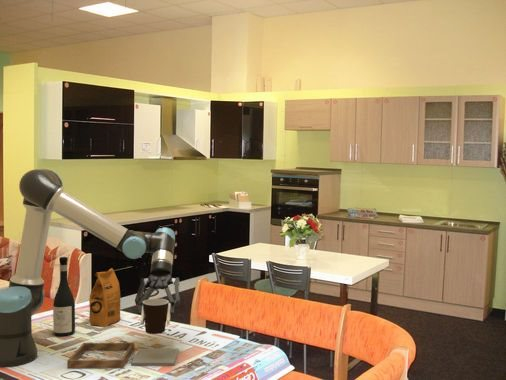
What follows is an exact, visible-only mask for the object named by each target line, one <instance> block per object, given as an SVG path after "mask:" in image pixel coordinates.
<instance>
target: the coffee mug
mask: <svg viewBox="0 0 506 380" xmlns="http://www.w3.org/2000/svg"><path fill="white" fill-rule="evenodd" d="M168 303H170V301H169V299H168V300H167V299H166V298H149V299H148V300H144V301H143V310H144V329H145V333H146V334H148V335H149V334H150V335H160V334H163V333H165V332H166V326H167V325H166V324H167V311H168Z"/></svg>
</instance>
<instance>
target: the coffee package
mask: <svg viewBox="0 0 506 380" xmlns="http://www.w3.org/2000/svg"><path fill="white" fill-rule="evenodd" d="M94 275H95V277H96V278H97V279H96V281H95V283H94V286H93V288H92V290H91V291H90V294H89V301H88V302H89V315H88V316H89V319H88V322H89V325H91V326H95V325H96V326H95V327H102V328H103V327H104V328H105V327H107V326H109V325H111V324H113V325H114V324H115V323H116V324H117V323H118V322H119V321H121V289H120V282H119V280H118V278H117V275H116V273H115V270H114V269H113V268H112V267H111V268H110V269H109V270H107V271H100V272H97V271H96V273H94Z"/></svg>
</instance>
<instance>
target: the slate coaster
mask: <svg viewBox="0 0 506 380" xmlns="http://www.w3.org/2000/svg"><path fill="white" fill-rule="evenodd" d="M179 351H180V348H179V347H177V348H175V347H173V348H170V347H169V348H162V347H161V348H159V347H158V348H155V347H154V348H152V347H151V348H138V350H137V351H136V354H135V355H134V356H133V359H132V360H131V363H130V366H131V367H136V366H137V367H139V366H140V367H142V366H143V367H144V366H145V367H147V366H148V367H150V366H151V367H154V366H159V367H161V366H165V367H167V366H175V365H176V361H177V358H178V355H179Z"/></svg>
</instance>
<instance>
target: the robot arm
mask: <svg viewBox="0 0 506 380" xmlns="http://www.w3.org/2000/svg"><path fill="white" fill-rule="evenodd" d="M63 186H64V185H63V180H62V178H61V177H60V176H59V174H57V172H55V171H53V170H50V169H47V168H41V169H31V170H28V171H26V173H24V174H23V175H22V177H21V178H20V180H19V187H18V188H19V192H20V195H21V196H22V197H23V201H22V205H23V207H24V208H25V215H24V216H25V217H24V220H23V222H24V223H23V228H22V233H21V234H22V235H21V239H20V245H19V251H18V258H17V263H16V269H15V270H16V271H15V274H14V275H13V276H12V277H10V279H9V282H8V287H5V288H2V289H0V367H15V366H20V365H24V364H28V363H30V362H33V361H35V360H36V359H37V358H38V347H37V344H36V342H35V339H34V337H33V333H32V332H33V331H32V329H33V328H32V322H33V321H32V317H33V315H35V314H36V313H37V312H38V311H39V310H40V309H41V307H42V306H43V303H44V299H45V292H44V286H45V281H44V279H43V278H42V271H43V267H44V266H43V265H44V260H45V252H46V247H47V241H48V235H49V229H50V223H51V219H52V213H53V212H54V213H55V214H57V215H59V216H61V217H63V218H64V219H66V220H68V221H70V222H71V223H73V224H74V225H76V226H78V227H79V228H81V229H83V230H85V231H86V232H88V233H90V234H92V235H93V236H95V237H97V238H99V239H100V240H102V241H104V242H105V243H107V244H109V245H110V246H112V247H114V248H116V249H117V250H118V251H119V252H122V253H123V254H124V255H125V257H127V258H129V259H131V260H136V259H139V258H140V257H142V256H143V255H144V254H145V253H146V254H147V253H148V254H152V257H151V265H150V274H149V276H148V278H147V277H146V278H144V277H140V280H139V281H140V284H139V287H138V290H137V293H136V296H135V299H134V303H135V305H136V306H139V308H138V314H139V315H140V323H141V325H142V326H143V325H144V326H145V320H144V310H143V301H144V300H148V299H151V296H152V294H154V292H155V291H156V290H164V291H165V293H166V295H167V298H168V301H169V303H168V311H167V318H166V324H167V325H170V323H171V315H174V314H175V307H176V306H180V305H181V299H180V291H179V290H180V288H179V286H180V283H181V281H180V278H179V277H175V278H174V277H172V273H173V263H174V253H175V252H174V251H175V243H176V233H175V231H174V230H173V229H172V228H169V227H162V228H161V227H159V228H158V229H156V231H155V232H145V231H135V230H130V229H128V228H126V227H124V226H123V225H121V224H119V223H118V222H116V221H114V220H113V219H111V218H109V217H108V216H105V215H104V214H103V213H101V212H100V211H97V210H96V209H94V207H91V206H89V205H88V204H86V203H84V202H83V201H81V200H80V199H78V198H76V197H74V196H72V195H71V194H69V193H67V192H66V191H65V189H64V187H63ZM148 283H149V286H148V288H147V290H146V291H145V287H146V286H147V284H148ZM171 283H172V285H174V292H175V293H174V294H175V299H174V298H173V295H172V293H171V290H170V287H169V285H171ZM144 292H145V293H144ZM143 294H144V295H143ZM167 325H166V326H167Z"/></svg>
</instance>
